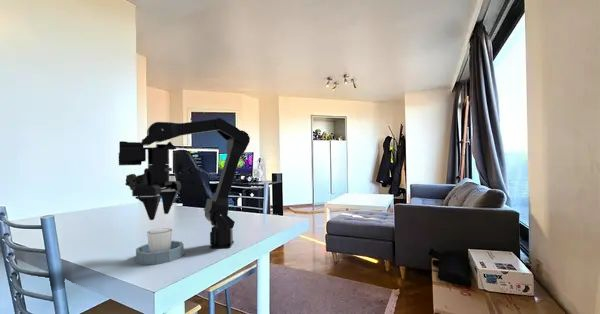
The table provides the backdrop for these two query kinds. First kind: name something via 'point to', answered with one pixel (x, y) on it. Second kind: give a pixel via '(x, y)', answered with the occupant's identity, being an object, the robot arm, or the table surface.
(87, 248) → the table surface
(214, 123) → the robot arm
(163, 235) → the shot glass
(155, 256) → the bowl
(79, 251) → the table surface
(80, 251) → the table surface
